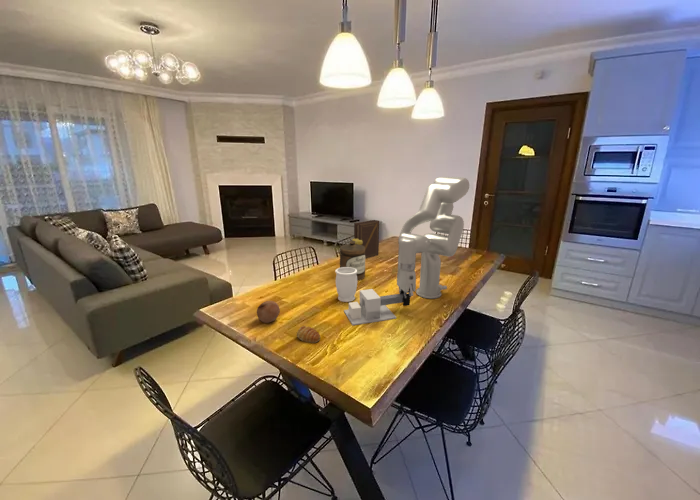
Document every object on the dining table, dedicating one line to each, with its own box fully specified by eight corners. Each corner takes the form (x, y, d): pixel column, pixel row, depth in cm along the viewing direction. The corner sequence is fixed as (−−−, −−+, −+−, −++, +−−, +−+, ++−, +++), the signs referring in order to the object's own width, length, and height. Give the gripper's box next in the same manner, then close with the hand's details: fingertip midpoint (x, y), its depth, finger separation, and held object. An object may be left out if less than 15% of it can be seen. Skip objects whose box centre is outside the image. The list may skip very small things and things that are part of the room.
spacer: (357, 301, 136) (348, 302, 135) (361, 307, 130) (352, 308, 129) (357, 311, 137) (348, 312, 136) (361, 318, 132) (352, 319, 131)
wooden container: (350, 283, 171) (350, 245, 165) (334, 275, 182) (334, 240, 176) (370, 277, 180) (370, 241, 174) (353, 270, 191) (354, 236, 185)
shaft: (405, 298, 141) (406, 292, 140) (409, 301, 138) (409, 295, 138) (365, 304, 135) (365, 298, 135) (367, 307, 133) (367, 301, 132)
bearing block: (384, 305, 145) (385, 285, 142) (396, 318, 133) (397, 297, 130) (343, 311, 139) (343, 291, 136) (352, 325, 127) (352, 303, 124)
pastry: (324, 338, 118) (324, 329, 117) (313, 346, 113) (313, 337, 112) (306, 331, 123) (305, 322, 122) (294, 338, 118) (294, 330, 117)
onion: (263, 331, 128) (252, 316, 123) (262, 315, 136) (252, 300, 130) (284, 322, 129) (274, 306, 123) (282, 307, 137) (272, 291, 131)
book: (372, 252, 228) (373, 219, 221) (380, 255, 222) (381, 221, 215) (349, 258, 214) (349, 223, 207) (357, 261, 208) (358, 225, 201)
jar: (338, 304, 146) (338, 275, 141) (333, 295, 155) (333, 267, 151) (359, 301, 148) (360, 272, 144) (353, 293, 158) (354, 265, 154)
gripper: (423, 270, 128) (420, 310, 133) (405, 259, 143) (403, 295, 148) (407, 272, 126) (405, 312, 131) (390, 260, 141) (389, 297, 146)
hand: (404, 303), depth 140 cm, fingers closed on shaft, 3 cm apart
